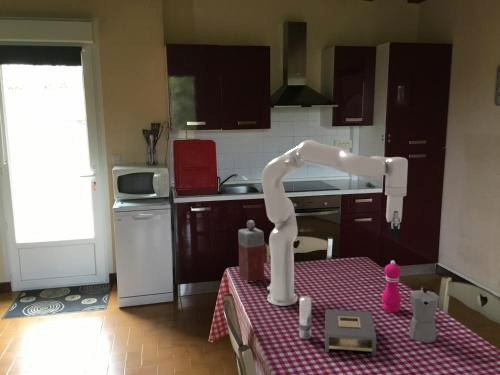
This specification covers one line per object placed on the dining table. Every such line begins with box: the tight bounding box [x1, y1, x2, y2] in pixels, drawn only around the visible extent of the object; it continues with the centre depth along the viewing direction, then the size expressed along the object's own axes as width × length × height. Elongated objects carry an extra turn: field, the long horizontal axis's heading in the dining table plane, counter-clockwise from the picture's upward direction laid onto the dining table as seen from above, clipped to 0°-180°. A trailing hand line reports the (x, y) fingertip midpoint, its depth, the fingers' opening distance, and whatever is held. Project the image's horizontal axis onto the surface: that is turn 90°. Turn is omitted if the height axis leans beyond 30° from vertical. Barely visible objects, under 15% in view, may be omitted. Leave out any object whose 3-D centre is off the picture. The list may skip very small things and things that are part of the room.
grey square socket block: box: [324, 308, 377, 357], centre depth 152 cm, size 18×16×7 cm
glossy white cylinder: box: [298, 295, 312, 340], centre depth 154 cm, size 4×4×14 cm
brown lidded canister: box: [237, 219, 268, 282], centre depth 207 cm, size 9×11×28 cm
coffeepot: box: [407, 285, 440, 344], centre depth 154 cm, size 15×9×18 cm, turn 163°
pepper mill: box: [381, 260, 402, 314], centre depth 173 cm, size 7×7×20 cm
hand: (393, 235), depth 168 cm, fingers open, 9 cm apart
